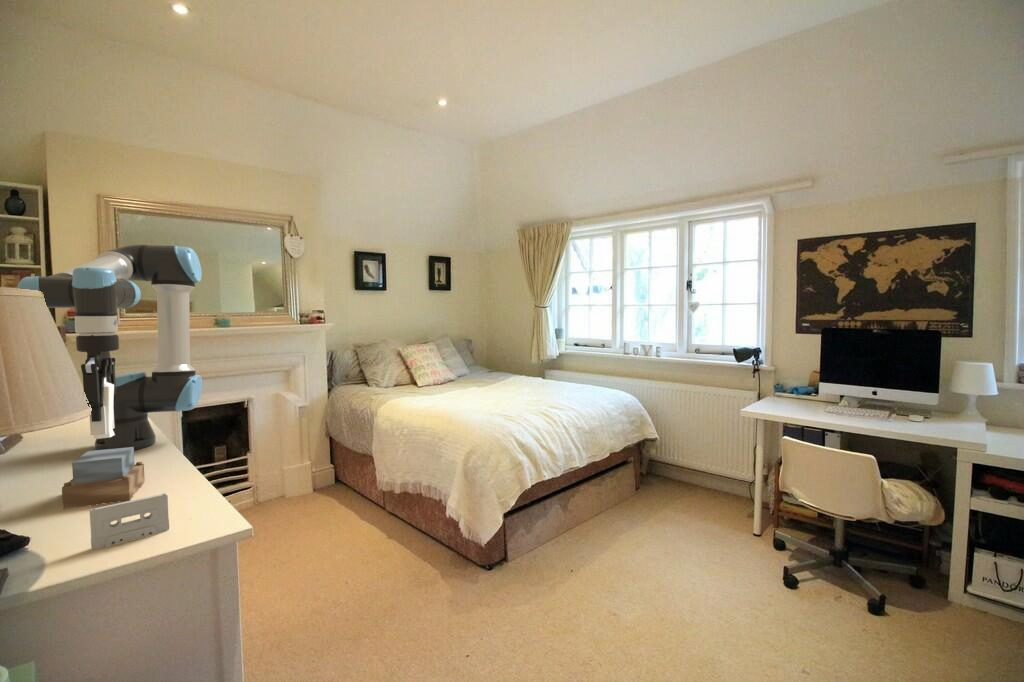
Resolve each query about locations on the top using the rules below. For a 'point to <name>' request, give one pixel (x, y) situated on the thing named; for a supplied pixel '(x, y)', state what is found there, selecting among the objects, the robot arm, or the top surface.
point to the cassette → (130, 530)
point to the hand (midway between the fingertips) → (102, 431)
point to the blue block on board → (103, 478)
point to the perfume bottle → (108, 409)
